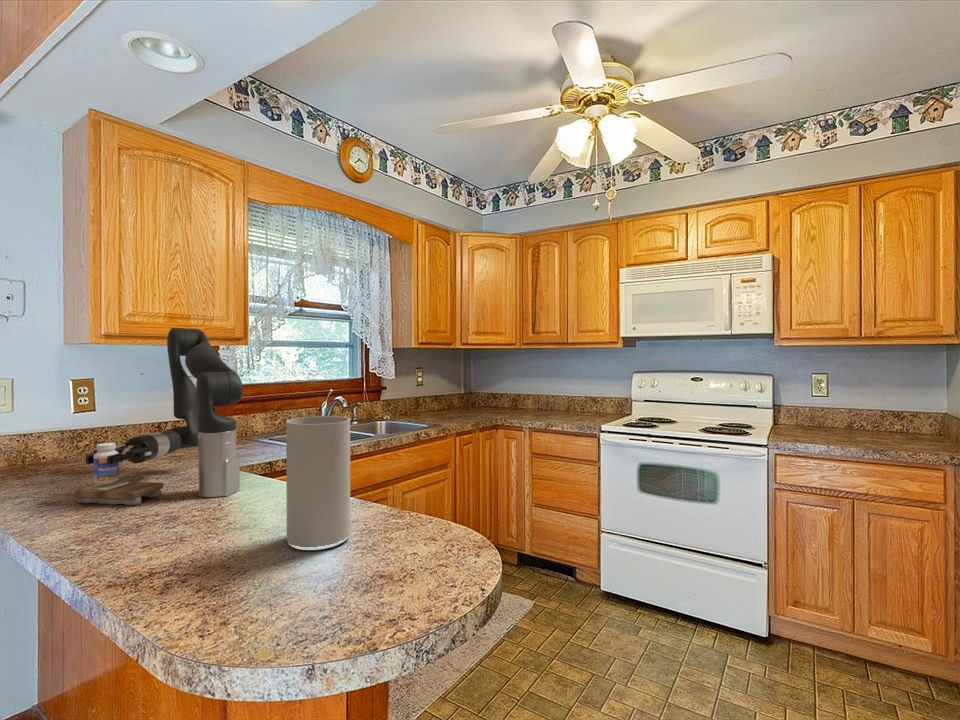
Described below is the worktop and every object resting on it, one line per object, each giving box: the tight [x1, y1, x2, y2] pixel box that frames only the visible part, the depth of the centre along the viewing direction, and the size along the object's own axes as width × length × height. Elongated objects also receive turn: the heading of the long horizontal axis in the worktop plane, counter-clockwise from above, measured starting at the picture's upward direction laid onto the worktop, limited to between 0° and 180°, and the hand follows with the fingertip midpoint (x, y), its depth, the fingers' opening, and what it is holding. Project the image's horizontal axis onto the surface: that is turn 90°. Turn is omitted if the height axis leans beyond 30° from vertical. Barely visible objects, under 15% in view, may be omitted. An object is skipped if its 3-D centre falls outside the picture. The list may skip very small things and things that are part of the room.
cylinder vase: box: [285, 415, 351, 547], centre depth 104 cm, size 12×12×25 cm
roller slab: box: [74, 480, 164, 506], centre depth 131 cm, size 16×10×4 cm, turn 84°
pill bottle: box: [92, 442, 120, 484], centre depth 132 cm, size 5×5×10 cm
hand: (97, 460), depth 129 cm, fingers closed on pill bottle, 5 cm apart
